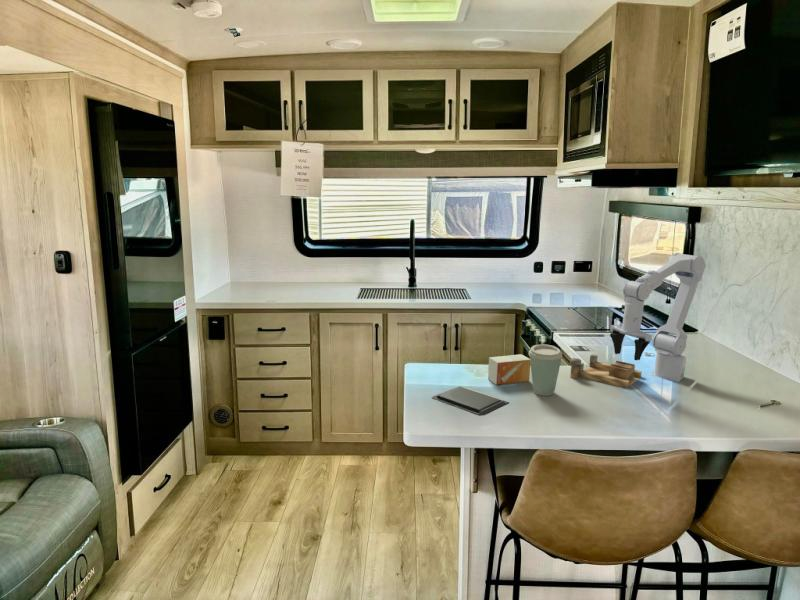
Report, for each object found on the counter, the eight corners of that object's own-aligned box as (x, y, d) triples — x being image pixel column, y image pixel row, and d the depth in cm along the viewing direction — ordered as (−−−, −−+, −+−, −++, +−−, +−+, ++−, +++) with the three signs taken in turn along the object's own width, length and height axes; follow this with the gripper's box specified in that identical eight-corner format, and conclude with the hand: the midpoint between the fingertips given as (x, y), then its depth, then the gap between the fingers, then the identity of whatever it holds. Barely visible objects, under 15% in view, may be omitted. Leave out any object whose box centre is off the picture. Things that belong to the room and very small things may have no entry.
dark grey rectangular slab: (430, 394, 181) (460, 382, 191) (429, 399, 181) (460, 388, 192) (480, 412, 167) (510, 399, 178) (480, 418, 167) (510, 405, 178)
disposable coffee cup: (565, 397, 183) (568, 352, 180) (533, 399, 182) (536, 353, 178) (551, 385, 194) (554, 343, 190) (521, 387, 192) (523, 344, 189)
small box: (529, 381, 197) (496, 385, 193) (520, 375, 203) (487, 379, 199) (531, 359, 195) (497, 362, 191) (521, 353, 201) (488, 357, 197)
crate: (633, 378, 201) (635, 363, 200) (625, 384, 195) (627, 369, 194) (616, 374, 205) (617, 359, 204) (608, 380, 199) (609, 365, 197)
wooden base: (640, 378, 203) (643, 359, 201) (622, 392, 189) (625, 372, 187) (587, 366, 215) (589, 348, 213) (567, 379, 201) (568, 359, 199)
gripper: (606, 313, 194) (601, 352, 197) (644, 323, 182) (638, 364, 185) (619, 312, 198) (614, 350, 201) (657, 321, 186) (651, 361, 189)
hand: (627, 356), depth 193 cm, fingers open, 7 cm apart
